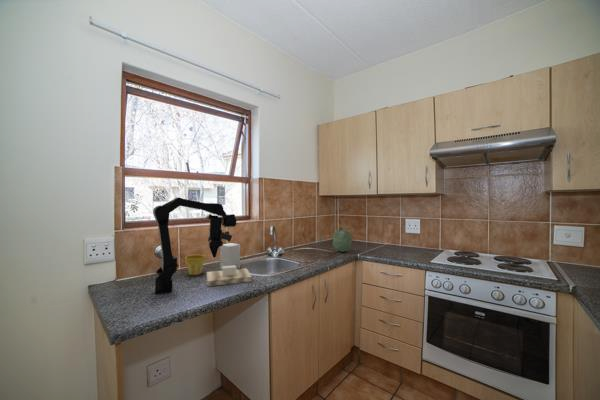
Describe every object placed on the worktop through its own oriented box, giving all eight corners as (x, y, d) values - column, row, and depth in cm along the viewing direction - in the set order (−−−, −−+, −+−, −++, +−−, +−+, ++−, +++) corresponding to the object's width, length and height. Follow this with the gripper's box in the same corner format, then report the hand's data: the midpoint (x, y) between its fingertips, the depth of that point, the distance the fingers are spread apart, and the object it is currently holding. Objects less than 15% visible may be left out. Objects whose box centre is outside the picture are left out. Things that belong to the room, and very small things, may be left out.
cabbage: (340, 249, 217) (341, 227, 217) (356, 253, 201) (357, 229, 201) (327, 251, 208) (327, 227, 208) (342, 255, 192) (343, 230, 193)
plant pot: (192, 270, 145) (193, 253, 145) (208, 271, 143) (208, 255, 143) (180, 275, 135) (181, 257, 135) (197, 276, 132) (197, 259, 132)
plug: (222, 280, 127) (222, 268, 127) (221, 278, 131) (221, 266, 131) (236, 279, 130) (236, 267, 130) (234, 276, 134) (235, 265, 134)
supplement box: (240, 268, 151) (241, 244, 151) (228, 271, 144) (229, 246, 144) (231, 265, 156) (231, 242, 156) (219, 268, 149) (219, 244, 149)
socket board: (207, 286, 119) (207, 281, 119) (206, 276, 134) (206, 271, 134) (252, 281, 127) (252, 276, 127) (246, 272, 142) (246, 268, 142)
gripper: (233, 229, 120) (232, 260, 120) (229, 225, 138) (228, 252, 137) (210, 229, 116) (208, 262, 116) (208, 225, 133) (207, 253, 133)
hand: (214, 257), depth 126 cm, fingers closed
